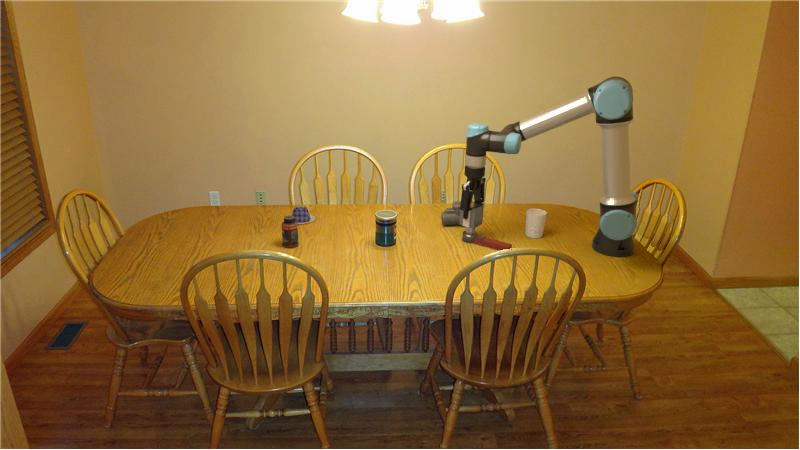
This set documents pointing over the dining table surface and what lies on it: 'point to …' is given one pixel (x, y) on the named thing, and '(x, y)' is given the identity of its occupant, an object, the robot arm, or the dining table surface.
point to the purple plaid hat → (302, 215)
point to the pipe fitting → (451, 214)
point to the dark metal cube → (474, 215)
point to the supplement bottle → (290, 232)
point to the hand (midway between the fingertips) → (471, 223)
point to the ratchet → (483, 240)
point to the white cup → (535, 222)
